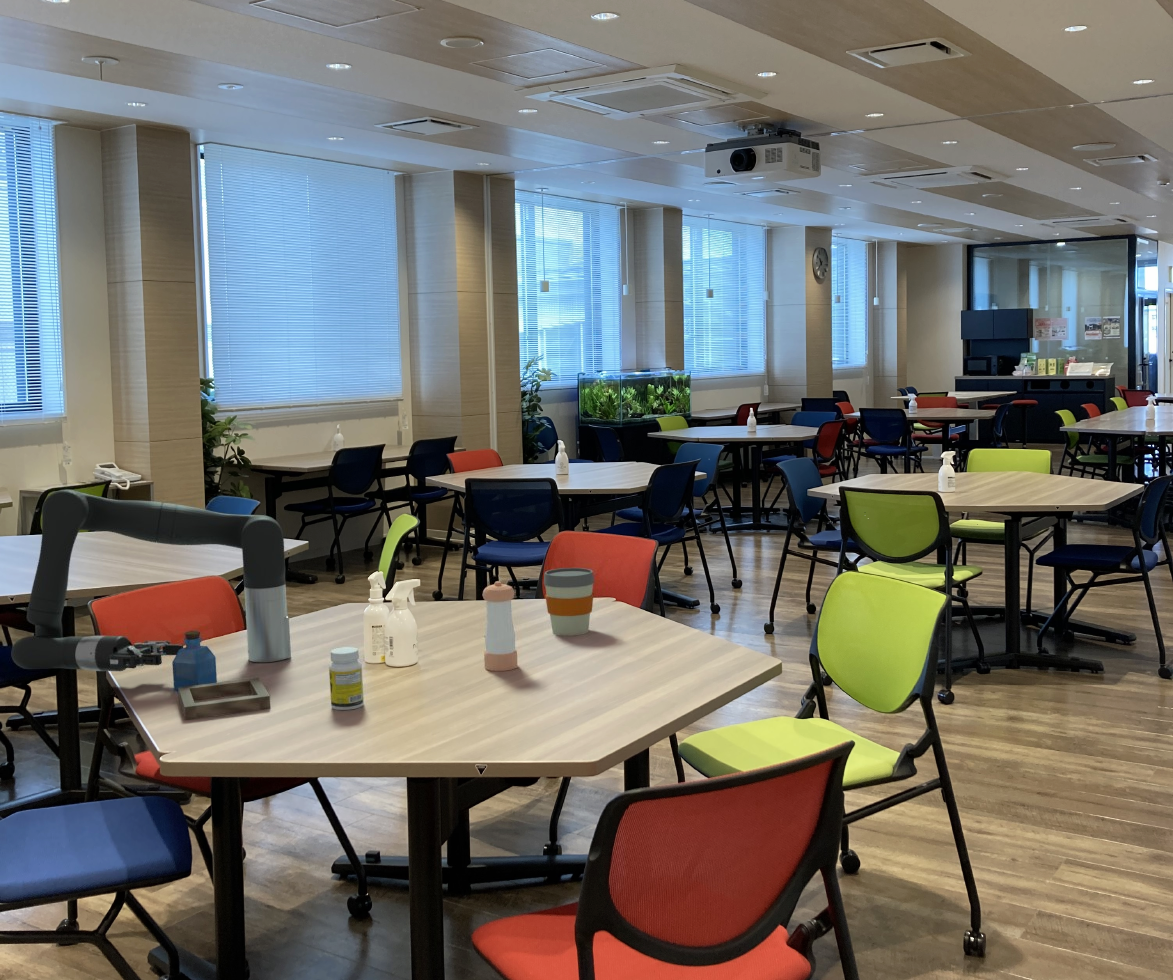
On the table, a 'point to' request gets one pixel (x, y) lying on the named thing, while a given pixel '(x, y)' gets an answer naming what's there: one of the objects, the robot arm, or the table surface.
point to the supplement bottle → (346, 679)
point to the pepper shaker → (499, 628)
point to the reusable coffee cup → (569, 599)
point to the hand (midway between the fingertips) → (171, 654)
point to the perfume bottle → (194, 663)
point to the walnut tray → (225, 706)
